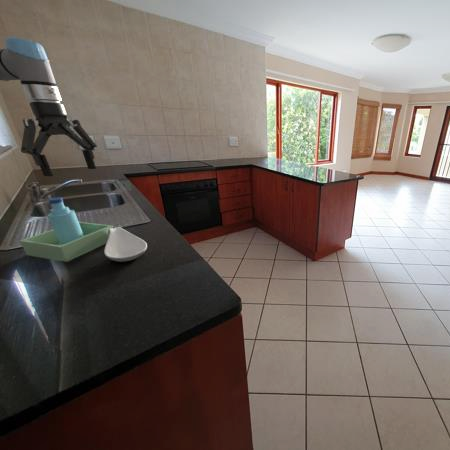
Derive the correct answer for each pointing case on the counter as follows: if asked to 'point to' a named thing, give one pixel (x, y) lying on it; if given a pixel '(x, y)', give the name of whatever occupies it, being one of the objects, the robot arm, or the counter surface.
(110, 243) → the spoon rest
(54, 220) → the bottle
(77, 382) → the counter surface
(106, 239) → the bin
